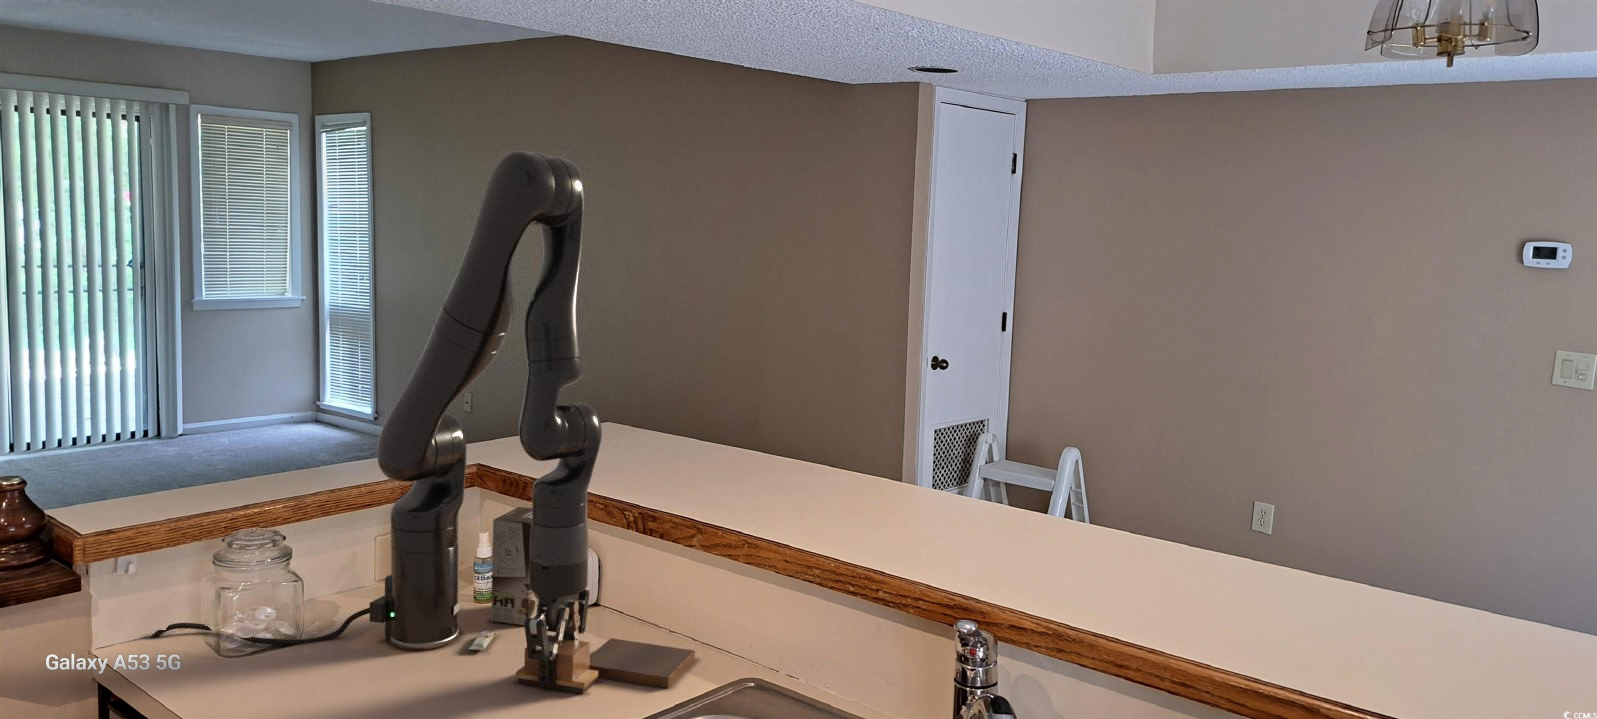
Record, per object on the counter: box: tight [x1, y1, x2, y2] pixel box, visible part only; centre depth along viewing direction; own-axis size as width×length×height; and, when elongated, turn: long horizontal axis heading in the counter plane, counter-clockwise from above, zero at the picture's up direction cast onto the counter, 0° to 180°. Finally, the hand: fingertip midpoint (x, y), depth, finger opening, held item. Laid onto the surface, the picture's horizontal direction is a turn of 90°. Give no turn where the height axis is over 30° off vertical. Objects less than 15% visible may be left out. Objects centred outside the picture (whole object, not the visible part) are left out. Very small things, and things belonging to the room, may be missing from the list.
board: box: [589, 637, 696, 689], centre depth 149 cm, size 13×10×2 cm
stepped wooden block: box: [515, 638, 599, 695], centre depth 142 cm, size 10×5×5 cm, turn 75°
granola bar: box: [468, 630, 497, 651], centre depth 154 cm, size 7×2×1 cm, turn 1°
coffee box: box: [490, 506, 539, 626], centre depth 166 cm, size 9×6×16 cm
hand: (557, 676), depth 142 cm, fingers closed on stepped wooden block, 5 cm apart
